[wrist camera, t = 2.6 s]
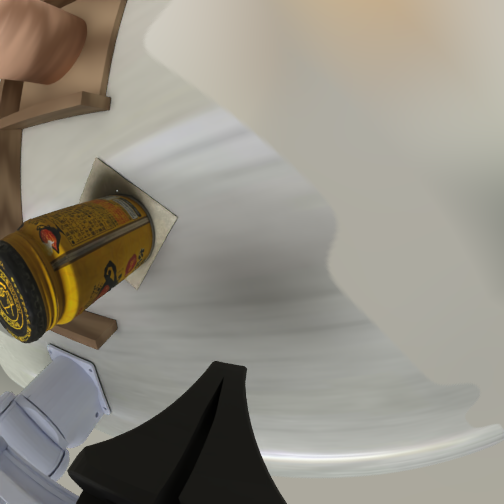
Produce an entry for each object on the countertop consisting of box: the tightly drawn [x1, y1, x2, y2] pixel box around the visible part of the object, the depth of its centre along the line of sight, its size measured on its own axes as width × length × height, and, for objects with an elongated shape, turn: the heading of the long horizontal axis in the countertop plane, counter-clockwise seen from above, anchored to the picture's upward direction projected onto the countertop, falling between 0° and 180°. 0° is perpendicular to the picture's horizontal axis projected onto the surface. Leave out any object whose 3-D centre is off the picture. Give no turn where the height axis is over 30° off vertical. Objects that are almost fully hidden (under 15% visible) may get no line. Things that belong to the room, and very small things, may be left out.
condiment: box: [0, 158, 177, 343], centre depth 14 cm, size 7×8×12 cm
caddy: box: [0, 0, 127, 350], centre depth 14 cm, size 33×14×10 cm, turn 175°
